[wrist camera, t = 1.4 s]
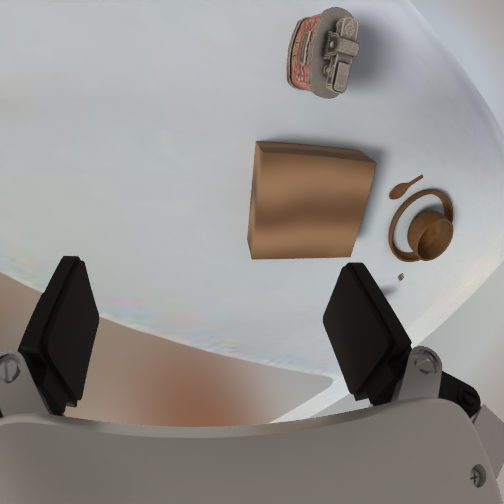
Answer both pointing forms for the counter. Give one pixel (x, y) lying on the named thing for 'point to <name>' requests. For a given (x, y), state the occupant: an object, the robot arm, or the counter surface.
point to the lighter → (323, 52)
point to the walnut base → (307, 200)
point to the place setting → (423, 227)
